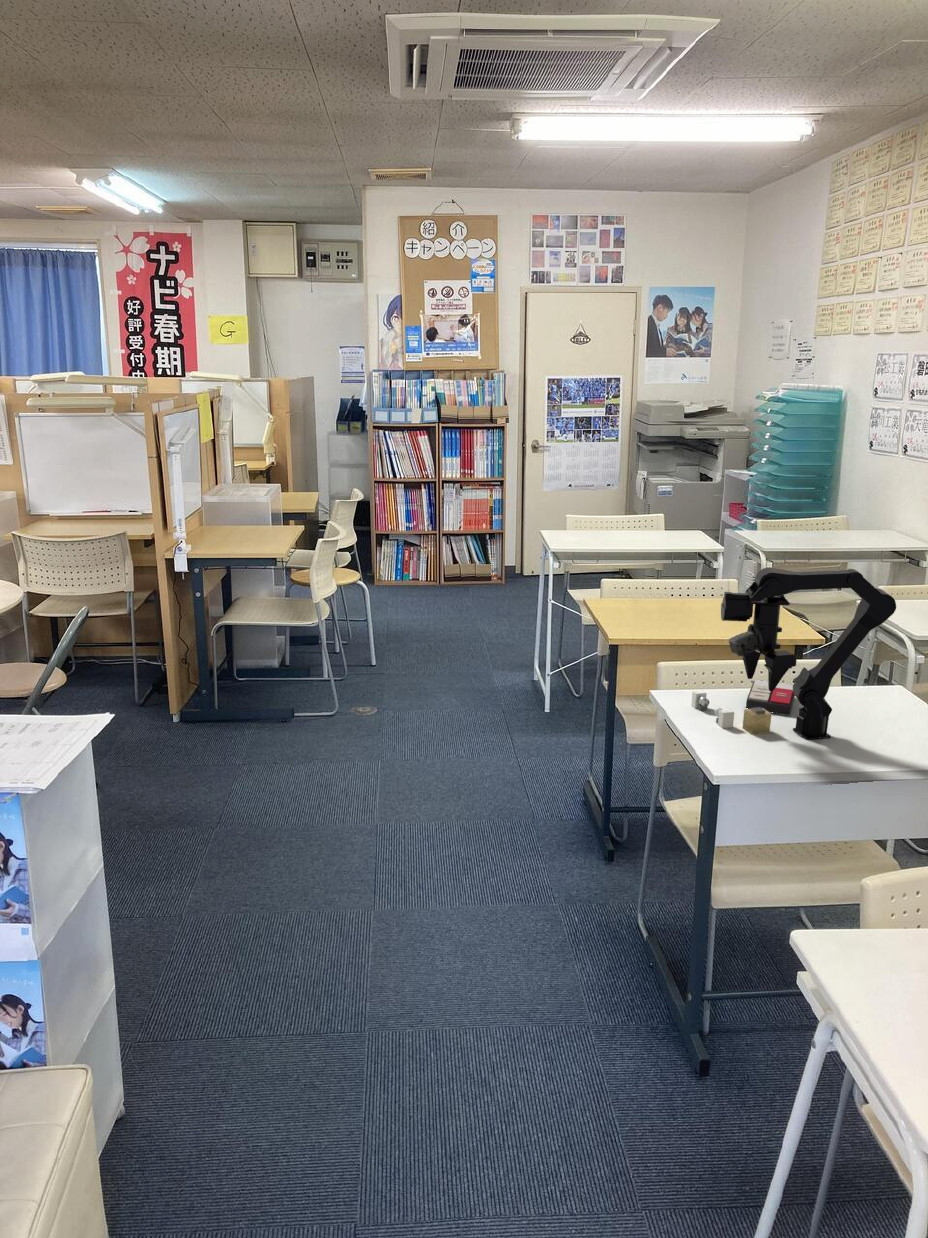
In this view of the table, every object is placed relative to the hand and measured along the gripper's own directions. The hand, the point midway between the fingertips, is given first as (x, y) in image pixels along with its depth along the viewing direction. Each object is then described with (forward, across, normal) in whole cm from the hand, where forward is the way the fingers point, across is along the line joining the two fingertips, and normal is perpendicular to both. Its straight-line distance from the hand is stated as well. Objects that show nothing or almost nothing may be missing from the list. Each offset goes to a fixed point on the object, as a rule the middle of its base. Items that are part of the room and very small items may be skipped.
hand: (760, 684), depth 222 cm
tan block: (+12, 0, 0) cm, 12 cm away
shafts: (+12, -11, -6) cm, 17 cm away
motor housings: (+12, -11, -6) cm, 17 cm away
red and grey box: (+13, -17, +15) cm, 26 cm away
